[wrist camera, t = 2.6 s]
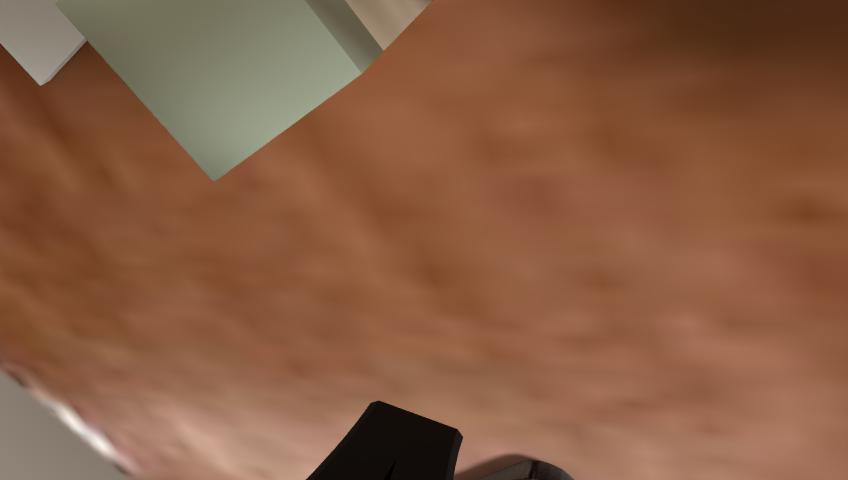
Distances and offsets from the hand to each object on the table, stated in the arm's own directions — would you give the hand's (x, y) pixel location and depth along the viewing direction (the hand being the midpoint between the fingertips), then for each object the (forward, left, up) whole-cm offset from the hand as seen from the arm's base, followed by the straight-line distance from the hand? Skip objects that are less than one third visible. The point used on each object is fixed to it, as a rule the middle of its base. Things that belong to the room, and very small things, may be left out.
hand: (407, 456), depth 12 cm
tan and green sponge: (+7, +1, -10) cm, 12 cm away
